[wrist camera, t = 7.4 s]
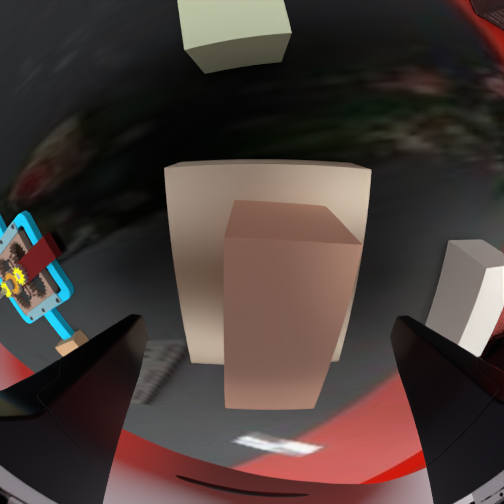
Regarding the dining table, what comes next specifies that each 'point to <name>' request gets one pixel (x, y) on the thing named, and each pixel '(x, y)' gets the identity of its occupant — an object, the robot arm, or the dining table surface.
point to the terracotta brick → (283, 301)
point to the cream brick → (468, 294)
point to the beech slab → (216, 220)
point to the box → (490, 11)
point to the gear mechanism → (23, 271)
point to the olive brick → (234, 32)
